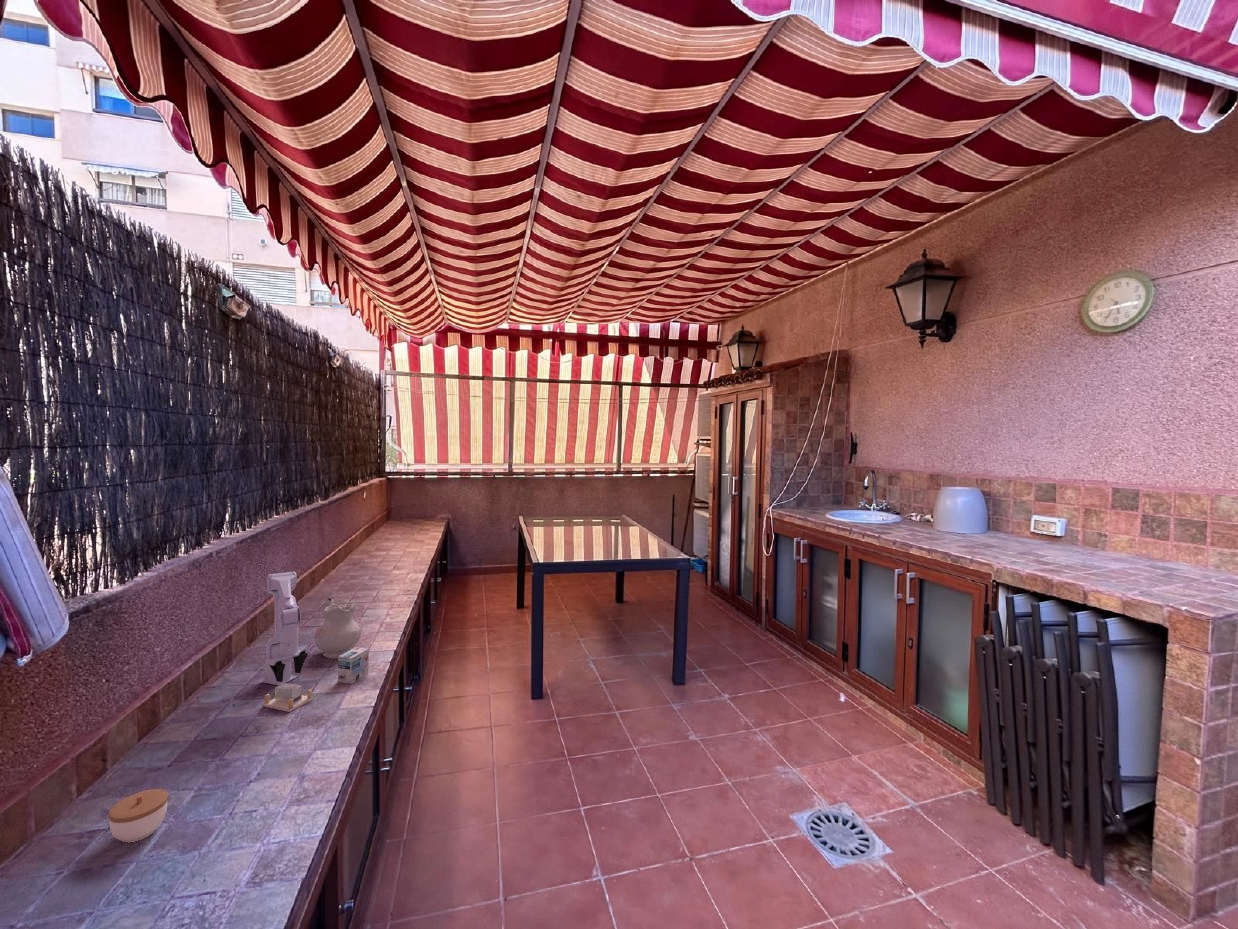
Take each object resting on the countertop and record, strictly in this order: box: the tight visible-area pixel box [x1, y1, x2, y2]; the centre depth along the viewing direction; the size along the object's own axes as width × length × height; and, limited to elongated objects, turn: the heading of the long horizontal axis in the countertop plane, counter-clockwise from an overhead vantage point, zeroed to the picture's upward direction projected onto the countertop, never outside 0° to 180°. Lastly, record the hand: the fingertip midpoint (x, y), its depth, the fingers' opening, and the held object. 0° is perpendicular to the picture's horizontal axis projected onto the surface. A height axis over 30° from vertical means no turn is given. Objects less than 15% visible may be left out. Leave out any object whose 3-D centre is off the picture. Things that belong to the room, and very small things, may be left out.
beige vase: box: [313, 596, 363, 660], centre depth 238 cm, size 22×20×25 cm
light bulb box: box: [337, 646, 370, 685], centre depth 214 cm, size 11×7×11 cm, turn 168°
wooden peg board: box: [263, 689, 313, 713], centre depth 191 cm, size 13×10×4 cm
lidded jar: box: [108, 788, 169, 844], centre depth 126 cm, size 11×11×9 cm
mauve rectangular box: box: [274, 682, 303, 704], centre depth 191 cm, size 8×4×5 cm, turn 74°
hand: (288, 677), depth 191 cm, fingers open, 7 cm apart
